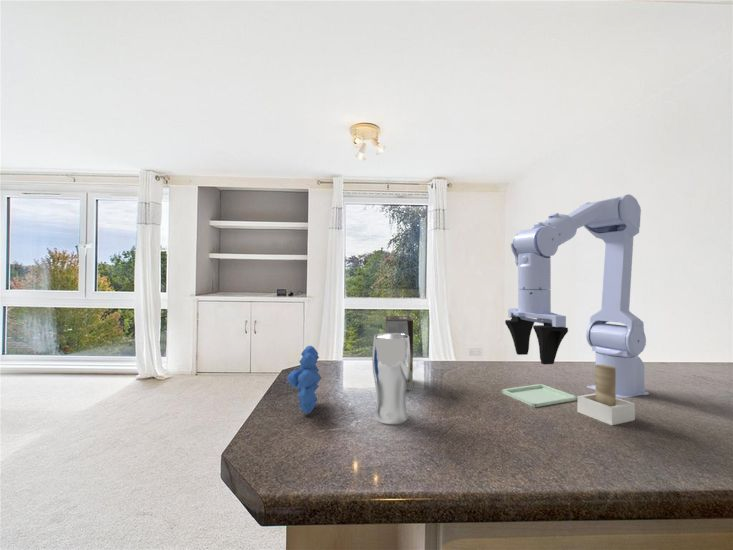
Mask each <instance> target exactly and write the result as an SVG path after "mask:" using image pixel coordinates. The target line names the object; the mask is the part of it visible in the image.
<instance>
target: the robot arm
mask: <svg viewBox="0 0 733 550" xmlns="http://www.w3.org/2000/svg"><path fill="white" fill-rule="evenodd" d="M641 215H642V209H641V205H640V204H639V201H638V200H637V198H636V197H635V196H633V195H632V194H623V195H622V196H618V197H612V198H606V199H602V200H598V201H593V202H585V203H583V204H579V206H578V208H576V209H574V210H573V211H572V212H569V213H568V214H564V213H561V214H560V213H559V212H557V213H551V214H549V215H547V217H548V219H546V220H544V221H543V222H542V221H539V222H536V223H533V224H534V225H533V227H531V228H527V229H524V230H523V229H522V230H520V231H518V232H517V233H516V235H515V236H514V237H513V239H512V243H510V248H511V251H512V254H513V255H514V259H515V264H516V267H517V299H518V301H517V308H508V309H507V311H508V316H507V317H508V318H510V319H505V323H504V324H505V325H506V326H507V328H508V330H509V332H510V335H511V337H512V341H513V345H514V349H515V353H516V355H518V356H525V355H529V350H530V340H531V339H530V338H531V334H532V330H534V333H535V335H536V339H537V342H538V347H539V360H540V363H541V364H542V365H554V364H555V360H556V357H557V353H558V351H559V348H560V345H561V343H562V341H563V339H564V338H565V336H566V335H567V333H568V332H569V328H568V327H567V316H566V315H562V314H557V313H554V312H552V310H551V308H552V307H551V306H552V305H551V299H552V298H551V294H552V293H551V291H552V290H551V289H552V288H551V287H552V284H551V282H552V281H551V279H552V278H551V276H552V275H551V273H552V272H551V268H552V267H551V265H552V264H551V261H552V260H551V258H552V256H553V257H554V255H555V254H556V253H557V252H558V248H559V247H560V246H561V245H563V244H565V243H567V242H568V241H570V240H571V239H573V238H574V237H575V235H576V233H577V230H578V229H580V228H582V227H584V228H585V230H587V231H588V232H589V233H590V234H591V235H593V237H595V238H596V239H599V240H602V241H603V242H604V243H605V246H604V247H605V249H604V261H603V263H604V264H603V275H602V276H603V277H602V293H601V306H600V307H601V308H600V310H598V311H597V312H595V313H594V314H592V315H591V316H590V317H589V323H588V326H587V328H586V330H585V331H586V332H585V338H586V341H587V344H588V345H589V347H591V351H592V352H595V366H596V365H608V366H613V367H615V368H616V398H619V399H624V398H625V399H626V398H631V397H637V396H641V395H645V396H648V395H650V393H649V392H648V391H645V364H644V362H643V360H642V358H641V357H639V356H640V354H642V353H643V352H644V350H645V348H646V344H647V337H646V333H645V327H644V321H643V320H641V318H639V317H638V316H636V315H635V314H634V313H632V312H631V311H630V303H631V285H632V284H631V283H632V269H633V268H632V267H633V266H632V265H633V252H634V249H633V247H634V237H635V236H636V235H639V233H640V228H641ZM610 322H611V323H610ZM612 322H613V323H612ZM535 323H539V324H541V325H536V324H535ZM616 323H621V324H616ZM542 324H543V325H542ZM594 371H595V373H594V374H595V383H596V368H595V369H594ZM586 388H588V389H592V390H595V384H594V385H593V384H592V385H587V386H586Z"/></svg>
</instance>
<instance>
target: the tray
mask: <svg viewBox="0 0 733 550" xmlns="http://www.w3.org/2000/svg"><path fill="white" fill-rule="evenodd" d="M500 393H501V394H503V395H505V396H508V397H509V398H512V399H514V400H517V401H519V402H522V403H524V404H526V405H529V406H531V407H533V408H539V407H544V406H550V405H556V404H562V403H563V404H564V403H568V402H573V401H577V396H578V395H574V394H571V393H568V392H565V391H563V390H560V389H556V388H553V387H551V386H548V385H545V384H542V383H539V384H538V383H537V384H530V385H524V386H523V385H522V386H515V387H511V388H504V389H500Z"/></svg>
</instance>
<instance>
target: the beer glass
mask: <svg viewBox="0 0 733 550" xmlns="http://www.w3.org/2000/svg"><path fill="white" fill-rule="evenodd" d="M371 356H372V357H371V358H372V359H371V360H372V361H371V362H372V364H371V365H372V374H373V380H374V386H375V391H376V393H375V394H376V405H375V410H374V419H375V420H376V421H377V422H378V423H381V424H384V425H388V426H389V425H392V426H393V425H394V426H395V425H396V426H397V425H401V424H404V423H406V421H407V420H408V411H407V403H406V397H407V396H406V394H407V390H406V389H407V383H408V378H409V371H410V342H409V336H408V335H406V334H400V333H385V332H382V333H375V334H373V343H372V355H371Z"/></svg>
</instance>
